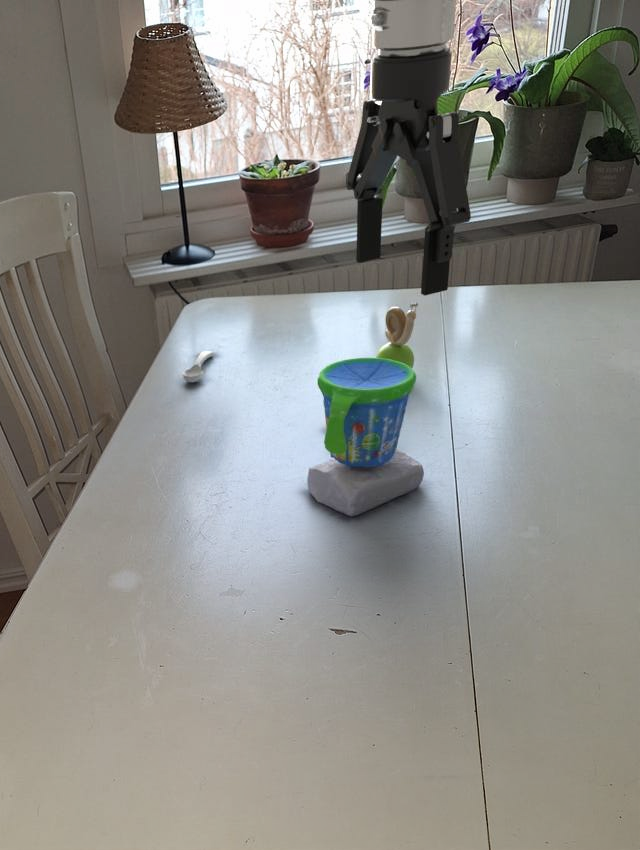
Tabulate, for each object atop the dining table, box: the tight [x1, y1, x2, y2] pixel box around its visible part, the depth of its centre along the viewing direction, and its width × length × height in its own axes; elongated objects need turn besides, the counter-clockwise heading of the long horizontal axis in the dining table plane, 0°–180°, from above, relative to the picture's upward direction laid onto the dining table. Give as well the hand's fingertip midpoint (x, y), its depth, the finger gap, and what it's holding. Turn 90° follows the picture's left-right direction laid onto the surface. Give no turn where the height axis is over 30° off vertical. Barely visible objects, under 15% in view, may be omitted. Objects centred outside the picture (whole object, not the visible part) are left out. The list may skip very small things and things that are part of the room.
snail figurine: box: [375, 302, 419, 369], centre depth 130 cm, size 5×6×12 cm
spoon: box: [182, 350, 214, 383], centre depth 143 cm, size 3×12×2 cm, turn 165°
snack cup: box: [317, 357, 417, 467], centre depth 105 cm, size 16×10×10 cm
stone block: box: [306, 448, 425, 517], centre depth 110 cm, size 12×5×10 cm
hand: (399, 275), depth 101 cm, fingers open, 13 cm apart
